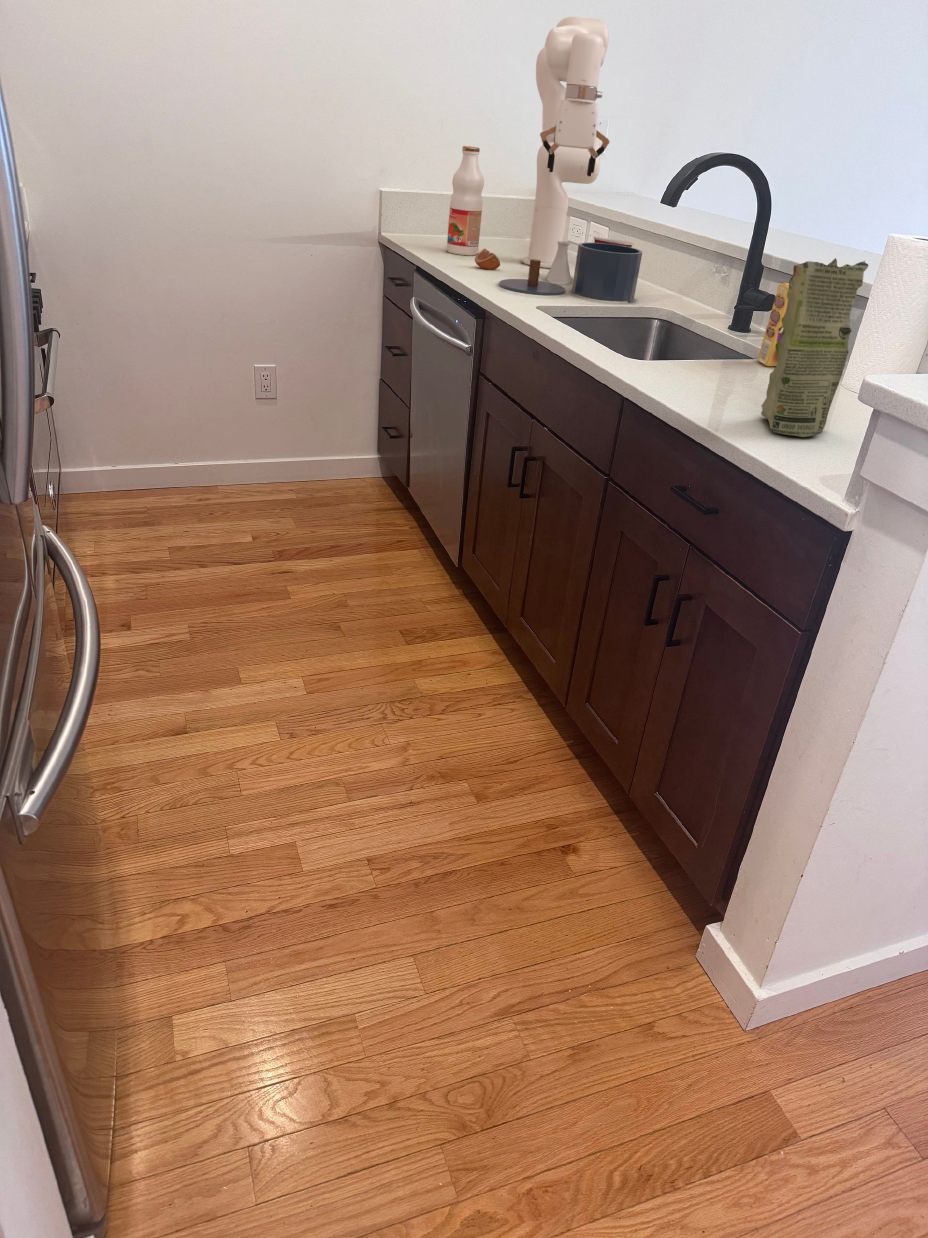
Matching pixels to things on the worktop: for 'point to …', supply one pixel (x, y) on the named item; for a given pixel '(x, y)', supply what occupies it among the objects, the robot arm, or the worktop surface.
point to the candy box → (774, 327)
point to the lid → (532, 283)
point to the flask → (560, 265)
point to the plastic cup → (612, 241)
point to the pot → (606, 272)
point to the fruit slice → (487, 260)
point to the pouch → (811, 346)
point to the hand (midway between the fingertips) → (569, 173)
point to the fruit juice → (466, 205)
